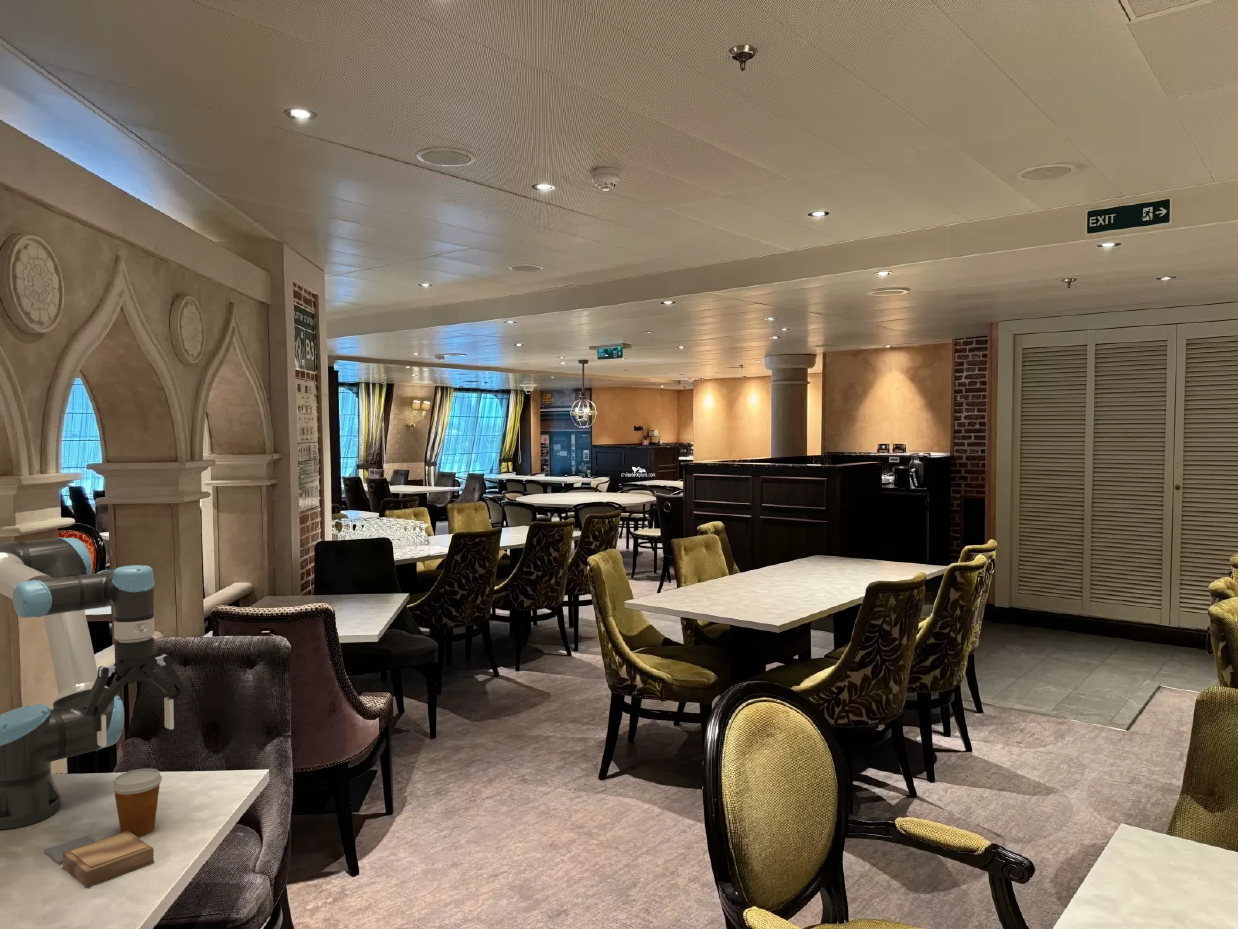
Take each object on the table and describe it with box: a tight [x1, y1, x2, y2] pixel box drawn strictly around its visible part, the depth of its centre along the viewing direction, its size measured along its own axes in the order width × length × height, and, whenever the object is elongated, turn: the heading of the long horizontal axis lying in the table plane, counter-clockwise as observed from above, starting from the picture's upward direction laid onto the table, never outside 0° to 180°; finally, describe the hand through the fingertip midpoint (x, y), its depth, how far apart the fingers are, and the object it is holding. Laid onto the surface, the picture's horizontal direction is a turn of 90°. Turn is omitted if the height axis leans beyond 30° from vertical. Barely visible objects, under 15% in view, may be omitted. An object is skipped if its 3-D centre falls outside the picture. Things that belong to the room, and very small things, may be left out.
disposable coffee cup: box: [111, 768, 163, 838], centre depth 183 cm, size 10×10×12 cm
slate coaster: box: [44, 834, 97, 865], centre depth 175 cm, size 8×8×1 cm
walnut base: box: [62, 831, 155, 888], centre depth 169 cm, size 12×12×3 cm
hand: (136, 736), depth 183 cm, fingers open, 13 cm apart
